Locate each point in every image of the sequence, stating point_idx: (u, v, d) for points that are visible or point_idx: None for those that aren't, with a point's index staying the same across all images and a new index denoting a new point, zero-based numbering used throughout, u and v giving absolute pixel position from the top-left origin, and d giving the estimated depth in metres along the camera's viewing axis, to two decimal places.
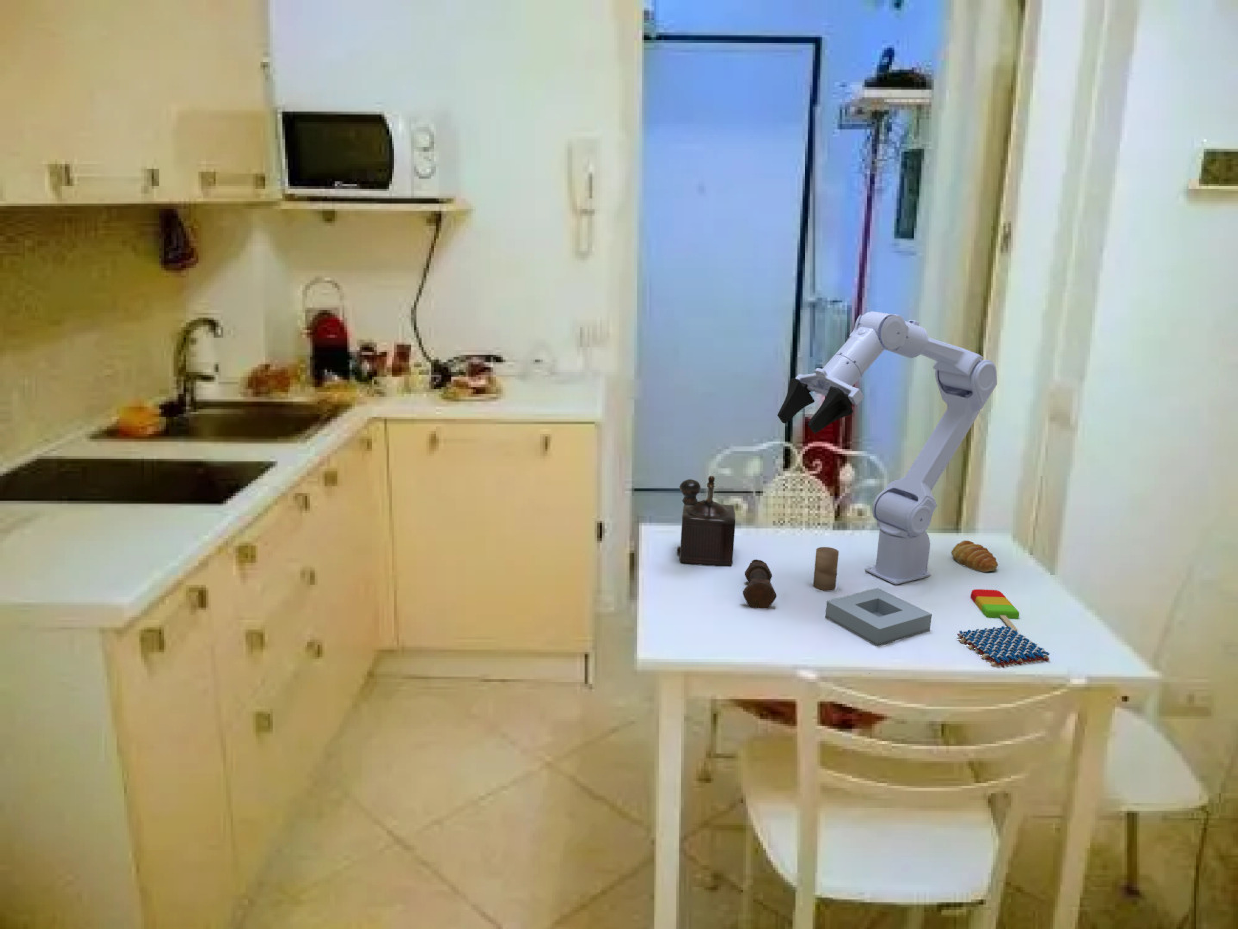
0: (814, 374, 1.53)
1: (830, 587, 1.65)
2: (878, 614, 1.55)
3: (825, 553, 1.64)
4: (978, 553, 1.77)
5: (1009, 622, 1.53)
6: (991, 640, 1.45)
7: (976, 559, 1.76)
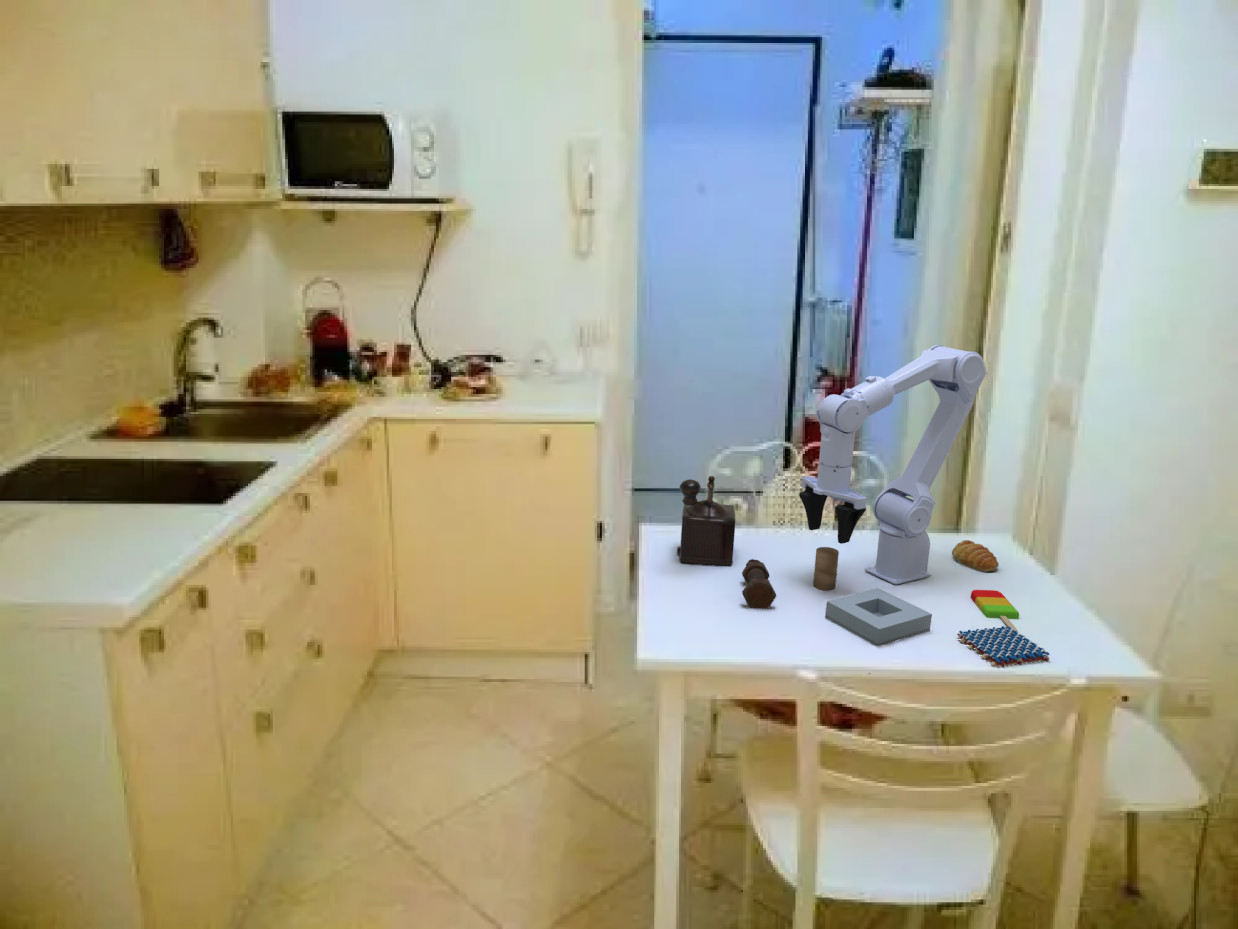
0: None
1: (830, 587, 1.65)
2: (878, 614, 1.55)
3: (825, 553, 1.64)
4: (978, 553, 1.77)
5: (1009, 623, 1.53)
6: (991, 640, 1.45)
7: (977, 559, 1.76)
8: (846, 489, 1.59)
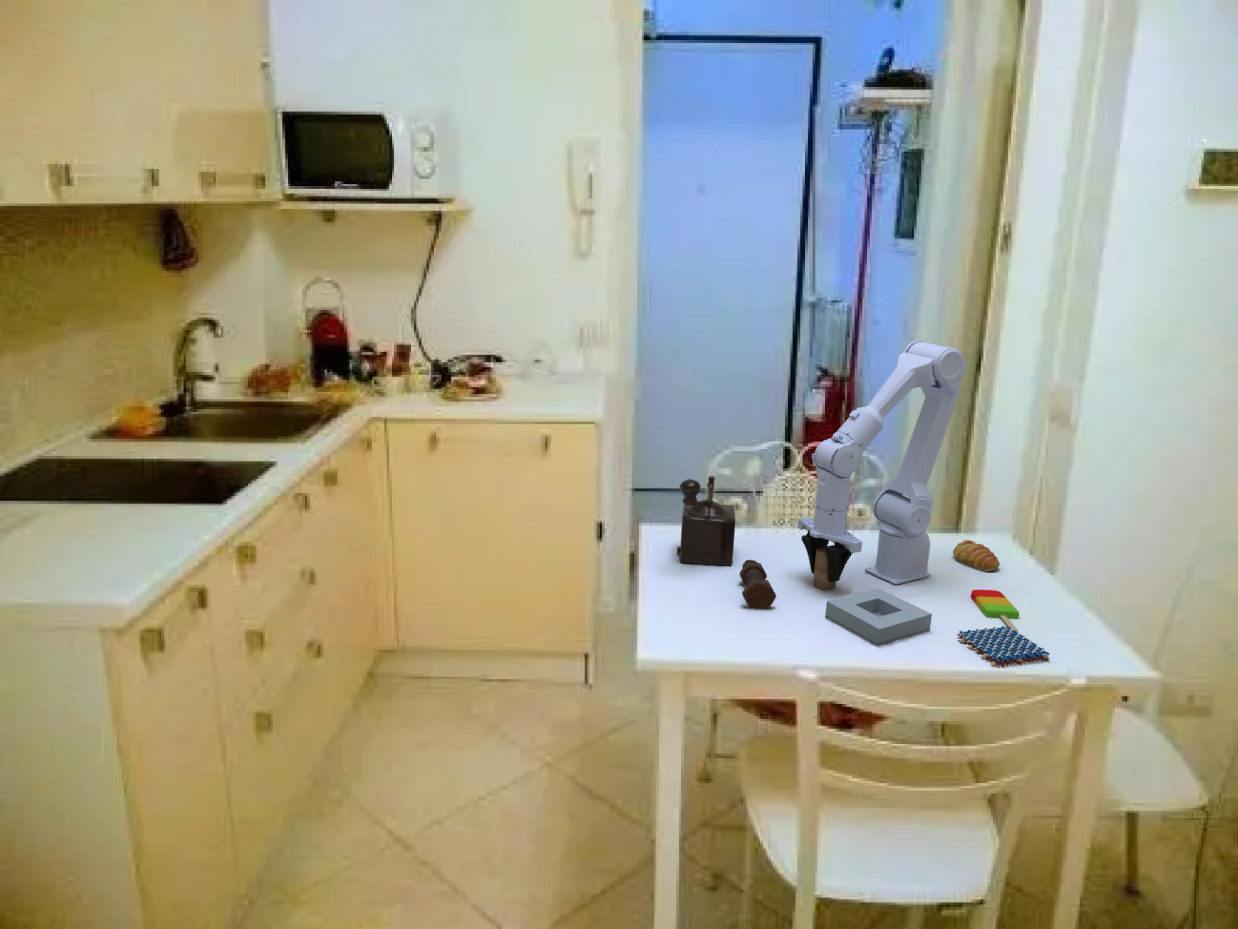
0: (811, 530, 1.64)
1: (830, 587, 1.65)
2: (878, 614, 1.55)
3: (825, 553, 1.64)
4: (980, 553, 1.77)
5: (1009, 622, 1.53)
6: (991, 640, 1.44)
7: (978, 559, 1.76)
8: (842, 532, 1.62)
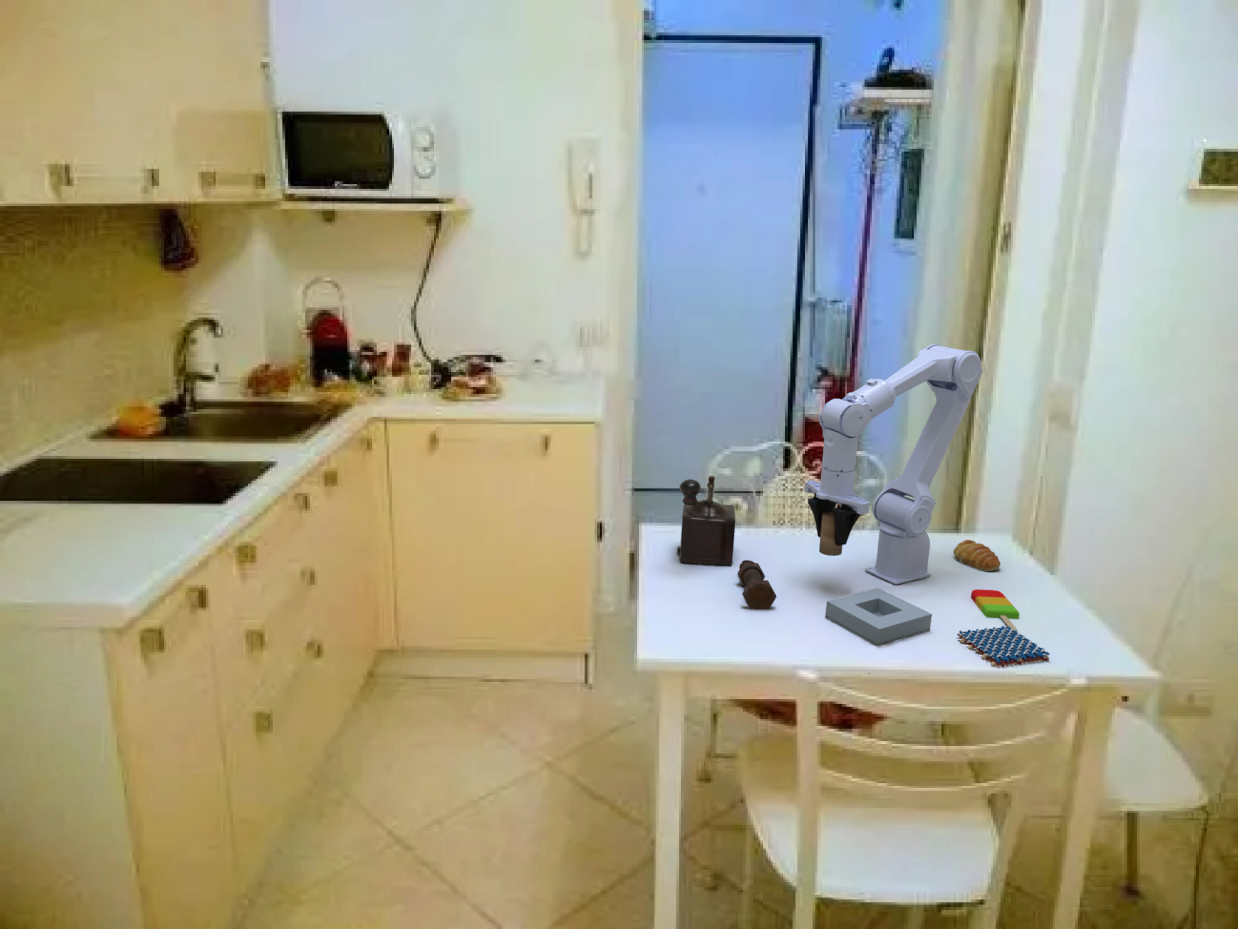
0: (817, 493, 1.61)
1: (836, 552, 1.62)
2: (878, 614, 1.55)
3: (831, 517, 1.61)
4: (980, 552, 1.78)
5: (1009, 622, 1.53)
6: (991, 640, 1.44)
7: (979, 559, 1.76)
8: (849, 494, 1.59)
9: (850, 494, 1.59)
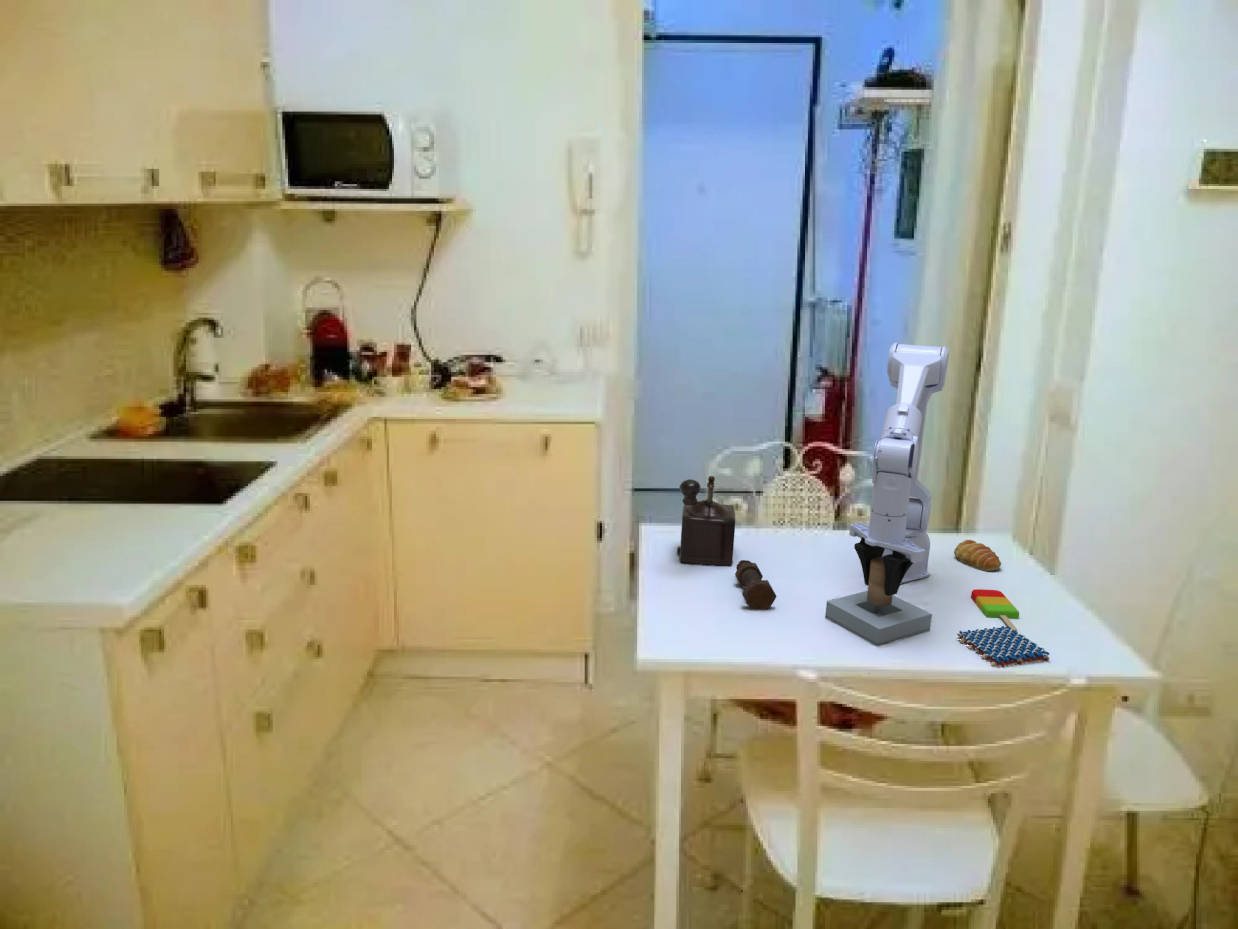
0: (866, 538, 1.48)
1: (887, 602, 1.49)
2: (878, 614, 1.55)
3: (882, 564, 1.48)
4: (981, 552, 1.78)
5: (1009, 622, 1.53)
6: (991, 640, 1.44)
7: (980, 559, 1.76)
8: (901, 540, 1.46)
9: (902, 540, 1.46)
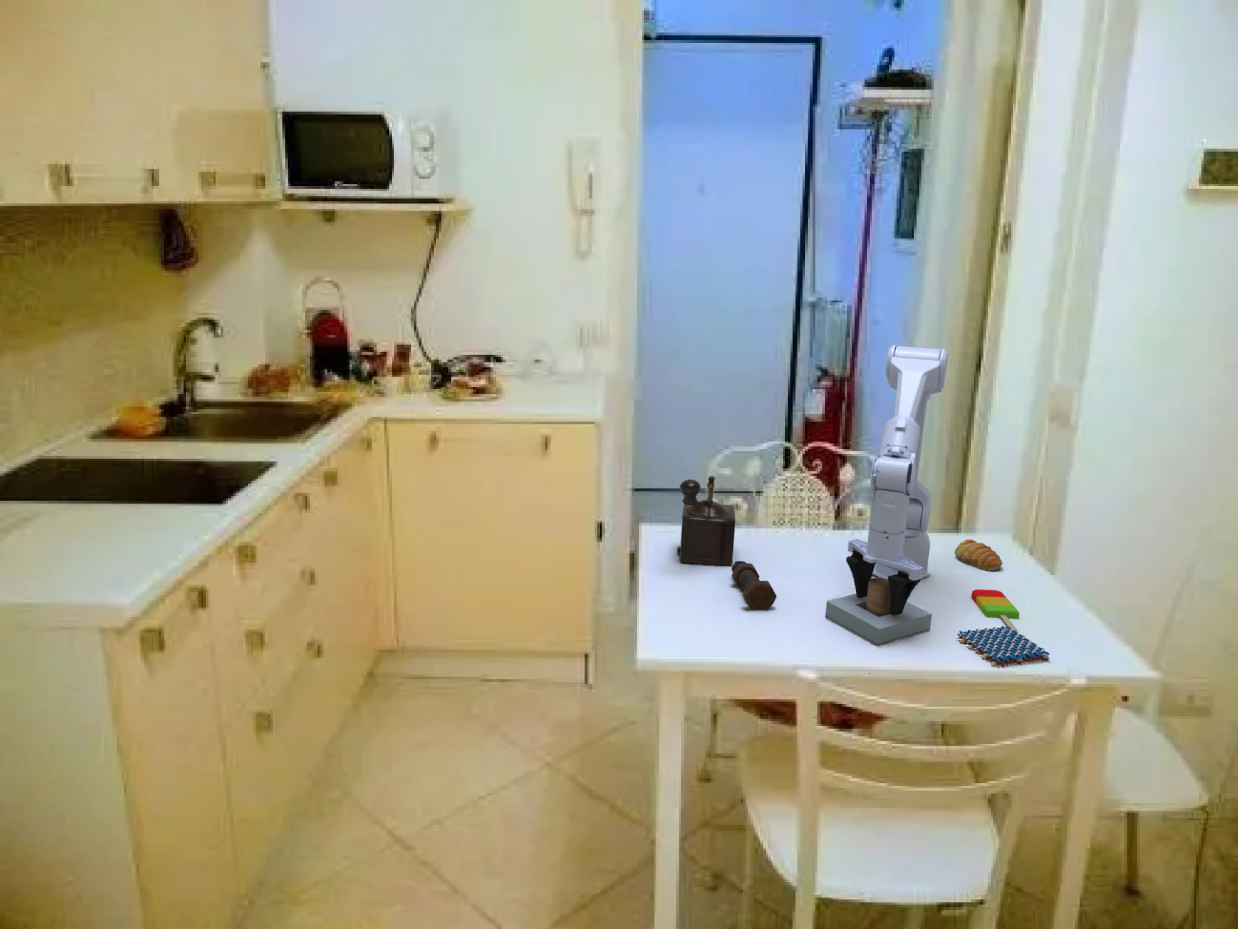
0: (864, 554, 1.49)
1: None
2: None
3: (880, 585, 1.49)
4: (982, 552, 1.78)
5: (1009, 622, 1.53)
6: (991, 640, 1.44)
7: (981, 558, 1.77)
8: (899, 557, 1.47)
9: (900, 557, 1.47)
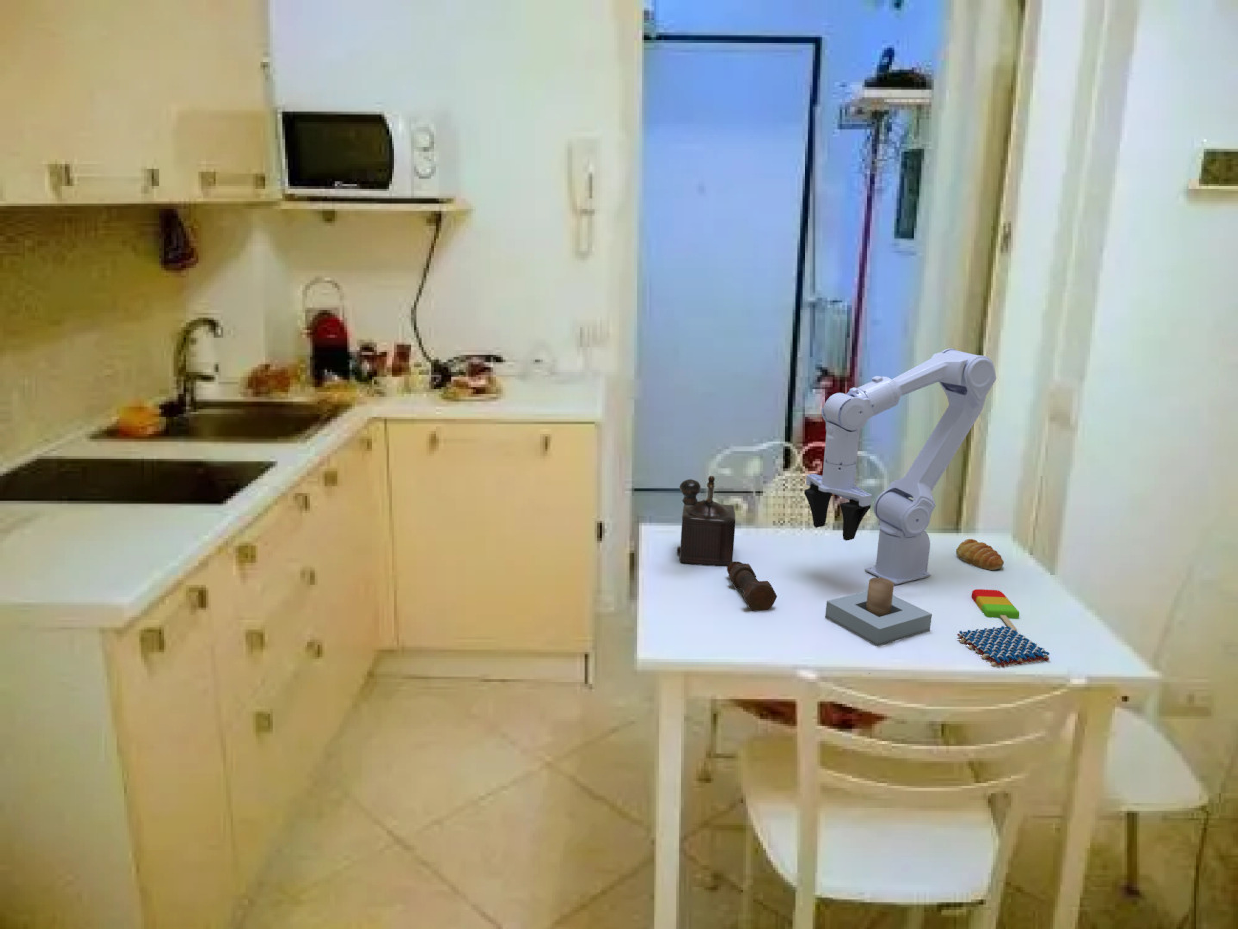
0: (819, 486, 1.64)
1: None
2: None
3: (880, 585, 1.49)
4: (984, 551, 1.78)
5: (1009, 622, 1.53)
6: (991, 640, 1.44)
7: (983, 558, 1.77)
8: (851, 486, 1.61)
9: (852, 487, 1.61)
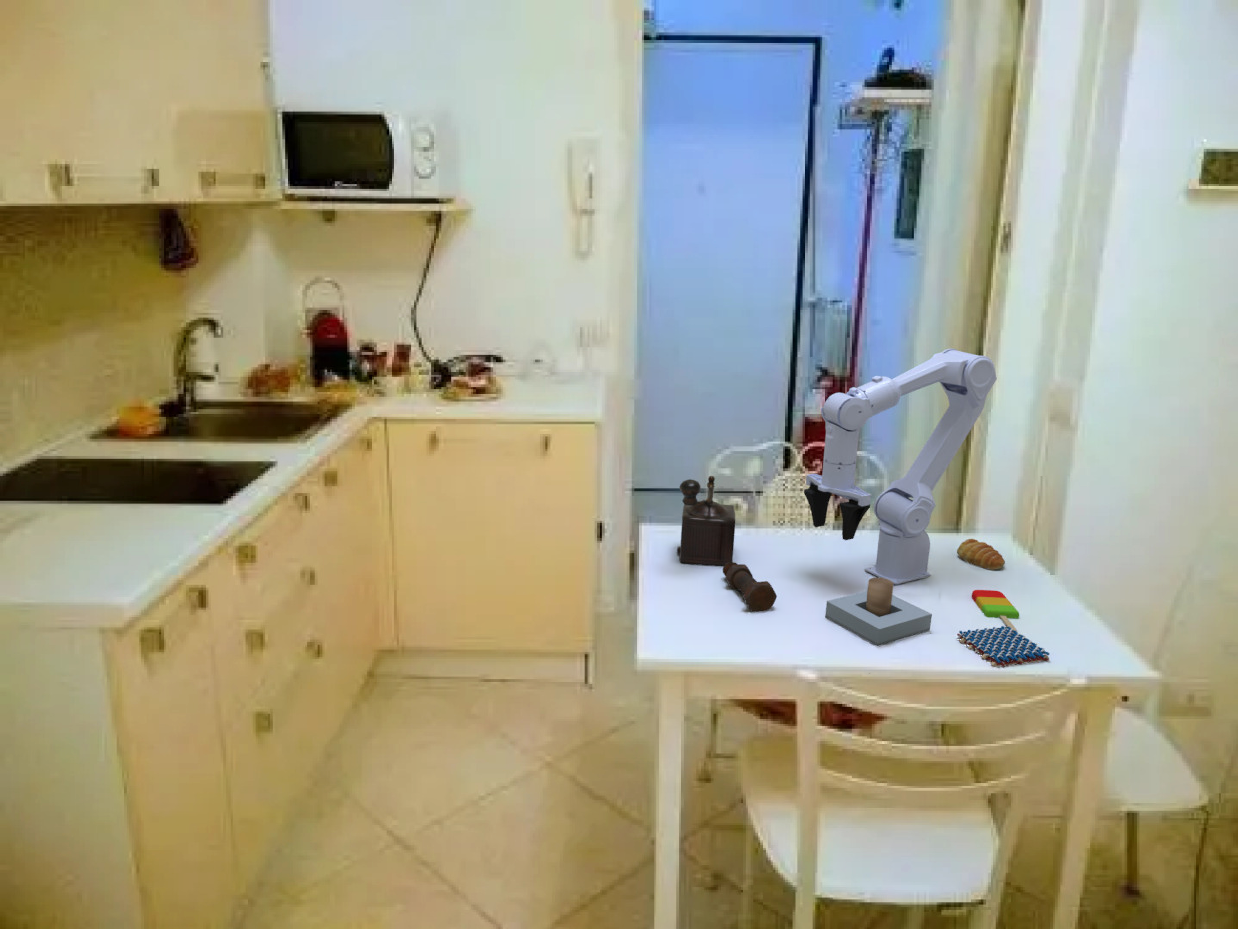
0: None
1: None
2: None
3: (879, 585, 1.49)
4: (985, 551, 1.78)
5: (1009, 622, 1.53)
6: (991, 640, 1.44)
7: (984, 558, 1.77)
8: (850, 486, 1.61)
9: (851, 486, 1.62)
